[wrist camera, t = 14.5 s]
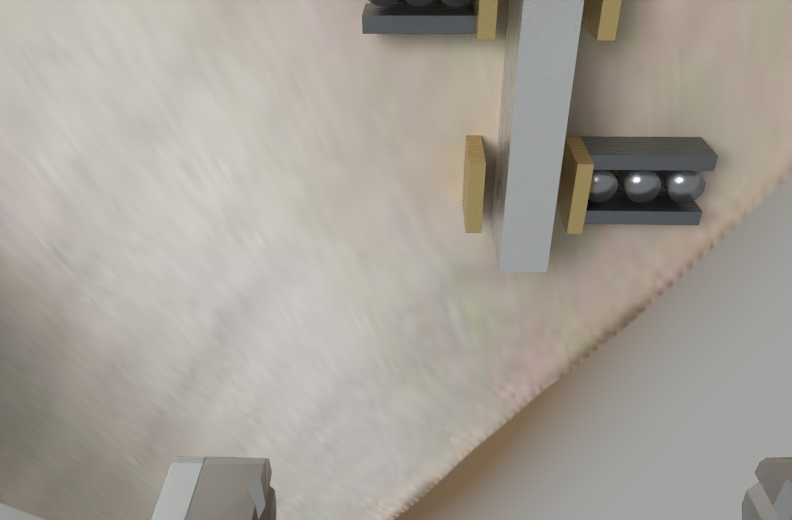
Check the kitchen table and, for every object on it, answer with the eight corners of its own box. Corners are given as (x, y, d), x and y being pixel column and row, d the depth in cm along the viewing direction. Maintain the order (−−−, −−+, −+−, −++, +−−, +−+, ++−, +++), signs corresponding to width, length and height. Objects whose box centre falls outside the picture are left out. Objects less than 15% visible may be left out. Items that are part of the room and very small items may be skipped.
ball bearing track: (371, 200, 38) (367, 231, 35) (363, -70, 31) (357, -58, 28) (684, 203, 38) (705, 235, 35) (755, -71, 30) (790, -59, 27)
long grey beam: (490, 223, 39) (498, 271, 35) (515, -105, 30) (530, -93, 26) (534, 224, 39) (547, 272, 35) (574, -105, 30) (598, -93, 26)
